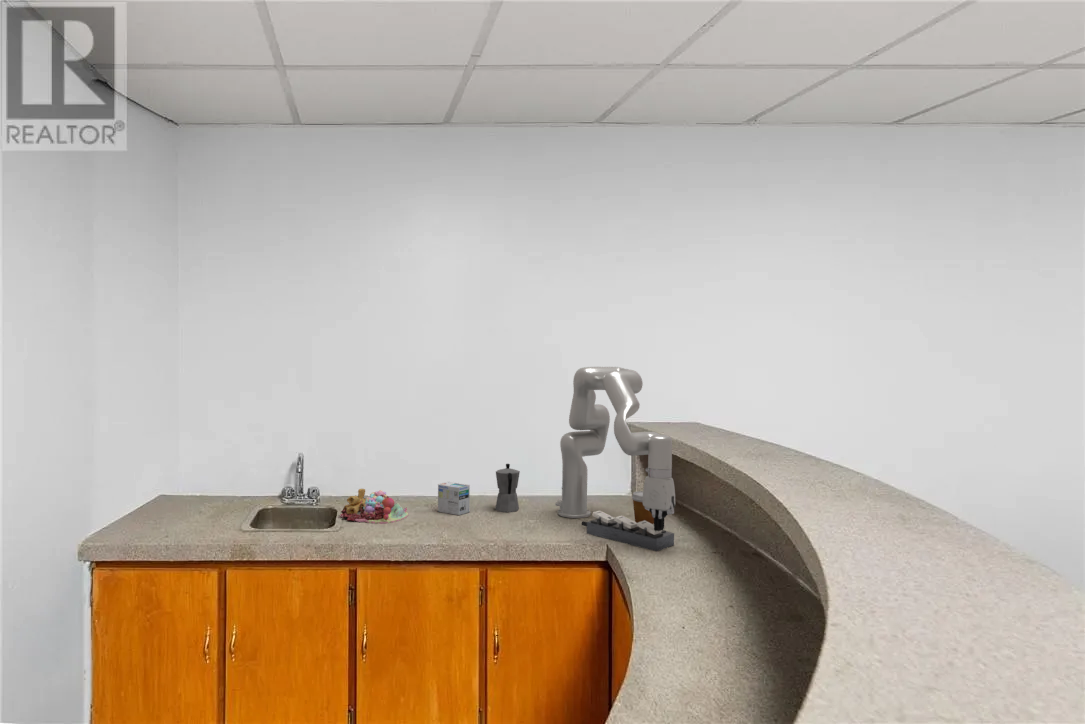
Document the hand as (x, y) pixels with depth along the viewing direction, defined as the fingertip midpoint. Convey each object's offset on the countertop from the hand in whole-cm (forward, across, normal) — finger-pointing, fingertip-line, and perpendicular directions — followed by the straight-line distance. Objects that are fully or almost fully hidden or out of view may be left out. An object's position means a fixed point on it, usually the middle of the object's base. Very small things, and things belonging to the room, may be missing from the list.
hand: (658, 529), depth 244 cm
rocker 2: (0, -13, 0) cm, 13 cm away
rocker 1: (0, -23, 0) cm, 23 cm away
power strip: (+6, -16, +2) cm, 18 cm away
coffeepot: (+6, -70, 0) cm, 71 cm away
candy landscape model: (+6, -98, -41) cm, 107 cm away
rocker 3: (0, -4, 0) cm, 4 cm away
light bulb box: (+5, -82, -17) cm, 84 cm away
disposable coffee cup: (+6, -19, +19) cm, 28 cm away
